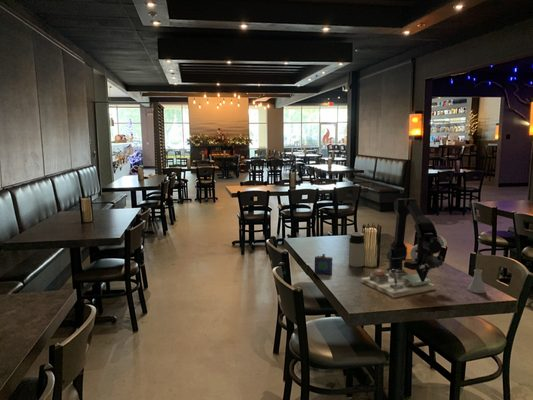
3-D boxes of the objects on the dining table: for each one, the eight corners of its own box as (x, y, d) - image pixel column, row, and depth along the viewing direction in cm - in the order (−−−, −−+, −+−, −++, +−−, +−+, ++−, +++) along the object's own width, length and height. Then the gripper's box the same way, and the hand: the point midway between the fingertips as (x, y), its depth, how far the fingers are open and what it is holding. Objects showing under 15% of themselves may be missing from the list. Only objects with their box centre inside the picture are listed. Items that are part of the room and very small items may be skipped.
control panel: (360, 282, 206) (361, 272, 205) (399, 275, 217) (400, 265, 216) (393, 297, 186) (394, 286, 185) (435, 289, 196) (435, 278, 196)
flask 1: (332, 273, 219) (332, 253, 218) (331, 275, 217) (332, 255, 215) (314, 272, 221) (314, 252, 220) (314, 274, 219) (314, 254, 217)
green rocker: (401, 278, 199) (401, 276, 199) (418, 275, 204) (418, 272, 204) (413, 286, 192) (413, 283, 192) (431, 282, 197) (431, 280, 197)
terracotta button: (372, 275, 205) (372, 270, 204) (379, 273, 206) (379, 269, 206) (378, 277, 201) (378, 272, 200) (385, 276, 202) (385, 271, 202)
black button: (391, 274, 210) (391, 269, 210) (398, 273, 212) (398, 268, 211) (397, 277, 206) (397, 272, 206) (404, 275, 208) (404, 271, 207)
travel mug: (352, 267, 230) (353, 235, 227) (346, 263, 237) (347, 232, 235) (365, 266, 231) (366, 234, 229) (359, 262, 239) (360, 231, 236)
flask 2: (475, 294, 190) (477, 273, 188) (464, 289, 197) (465, 268, 195) (489, 293, 192) (490, 272, 190) (477, 287, 198) (478, 267, 197)
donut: (412, 263, 239) (413, 245, 237) (408, 261, 242) (409, 244, 241) (426, 261, 242) (427, 244, 241) (422, 259, 245) (423, 243, 244)
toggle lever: (393, 284, 193) (389, 269, 195) (396, 283, 194) (392, 268, 196) (396, 283, 192) (392, 268, 194) (399, 283, 193) (395, 268, 194)
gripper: (422, 254, 181) (420, 289, 183) (452, 249, 189) (451, 283, 191) (403, 249, 191) (402, 282, 193) (433, 245, 199) (432, 277, 201)
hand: (422, 281), depth 194 cm, fingers closed, pressing on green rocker
